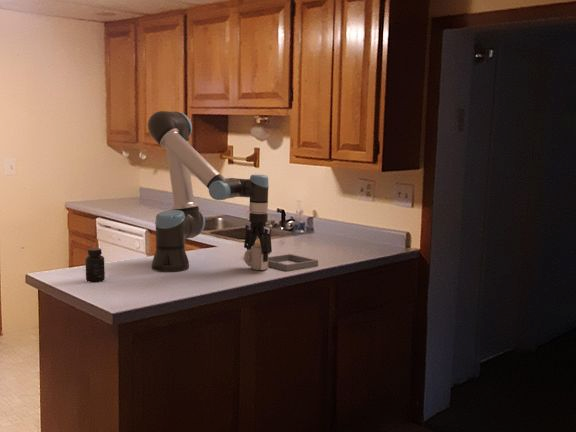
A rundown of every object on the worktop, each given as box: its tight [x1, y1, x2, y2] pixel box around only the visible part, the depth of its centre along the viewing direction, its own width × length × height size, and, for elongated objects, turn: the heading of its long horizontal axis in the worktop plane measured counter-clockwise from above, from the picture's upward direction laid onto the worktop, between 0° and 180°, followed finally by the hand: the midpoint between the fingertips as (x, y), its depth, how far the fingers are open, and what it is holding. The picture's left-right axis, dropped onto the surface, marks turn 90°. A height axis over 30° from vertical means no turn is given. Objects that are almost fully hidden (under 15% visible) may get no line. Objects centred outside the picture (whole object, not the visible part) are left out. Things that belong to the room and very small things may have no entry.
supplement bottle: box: [85, 247, 106, 283], centre depth 244 cm, size 7×7×12 cm
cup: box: [243, 246, 270, 271], centre depth 270 cm, size 7×10×9 cm
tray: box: [268, 253, 319, 272], centre depth 280 cm, size 18×18×2 cm
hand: (257, 267), depth 270 cm, fingers closed on cup, 8 cm apart
